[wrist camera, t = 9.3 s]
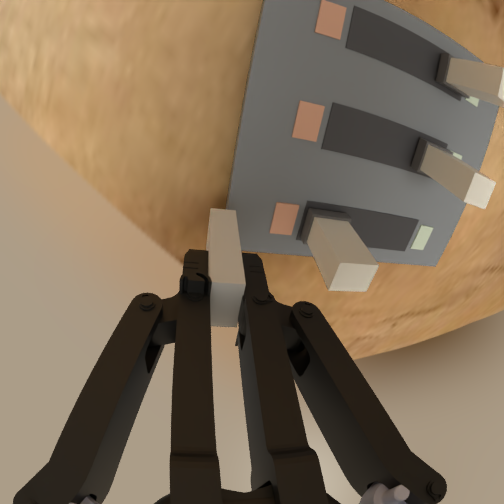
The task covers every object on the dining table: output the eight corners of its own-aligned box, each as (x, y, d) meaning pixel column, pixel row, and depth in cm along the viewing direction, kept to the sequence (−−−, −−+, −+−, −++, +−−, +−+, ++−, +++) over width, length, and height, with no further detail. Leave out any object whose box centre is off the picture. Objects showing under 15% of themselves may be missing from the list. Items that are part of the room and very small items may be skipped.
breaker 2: (420, 137, 17) (474, 168, 13) (446, 148, 18) (498, 180, 13) (410, 167, 19) (460, 204, 14) (437, 175, 19) (485, 212, 14)
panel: (269, -31, 11) (273, -37, 10) (495, 77, 15) (505, 80, 14) (221, 240, 22) (221, 250, 21) (429, 259, 26) (436, 267, 25)
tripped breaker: (308, 207, 20) (338, 259, 15) (346, 213, 21) (383, 263, 16) (300, 237, 21) (324, 293, 17) (337, 241, 22) (367, 294, 17)
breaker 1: (441, 53, 13) (502, 63, 9) (467, 70, 14) (524, 85, 9) (435, 81, 15) (495, 97, 10) (461, 96, 15) (518, 117, 11)
